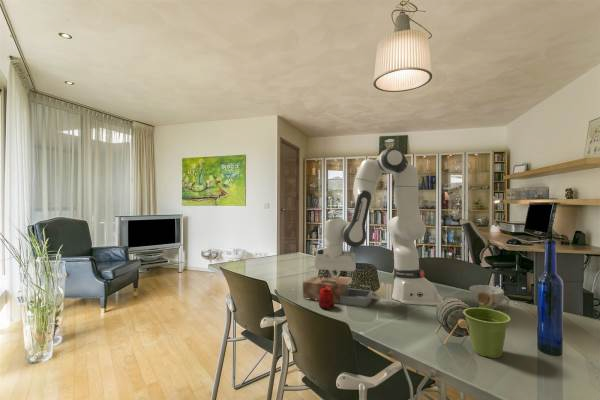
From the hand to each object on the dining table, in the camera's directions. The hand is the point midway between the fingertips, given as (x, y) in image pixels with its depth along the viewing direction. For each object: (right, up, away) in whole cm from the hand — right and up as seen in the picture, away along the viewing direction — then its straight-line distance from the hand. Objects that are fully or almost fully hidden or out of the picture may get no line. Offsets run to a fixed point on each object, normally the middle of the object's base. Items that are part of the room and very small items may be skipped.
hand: (335, 279), depth 143 cm
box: (+10, -9, -5) cm, 14 cm away
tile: (+4, -1, -2) cm, 5 cm away
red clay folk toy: (-5, -9, -12) cm, 16 cm away
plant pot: (+39, -7, -55) cm, 68 cm away
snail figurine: (+53, -7, -31) cm, 62 cm away
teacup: (+63, -8, -18) cm, 66 cm away
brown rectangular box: (-4, -9, +2) cm, 10 cm away
